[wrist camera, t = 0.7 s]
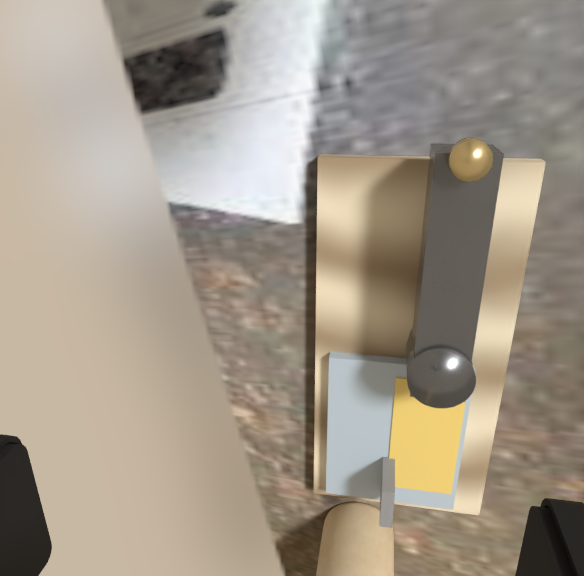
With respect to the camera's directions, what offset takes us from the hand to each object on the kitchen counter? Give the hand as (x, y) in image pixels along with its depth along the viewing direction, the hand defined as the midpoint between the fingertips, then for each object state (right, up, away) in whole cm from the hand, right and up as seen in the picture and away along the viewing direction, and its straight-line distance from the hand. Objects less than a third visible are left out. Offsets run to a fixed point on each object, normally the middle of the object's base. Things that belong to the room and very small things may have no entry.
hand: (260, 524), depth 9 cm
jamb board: (+8, 0, +24) cm, 25 cm away
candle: (+6, -15, +31) cm, 35 cm away
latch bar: (+9, +6, +19) cm, 22 cm away
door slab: (+8, -5, +26) cm, 27 cm away
